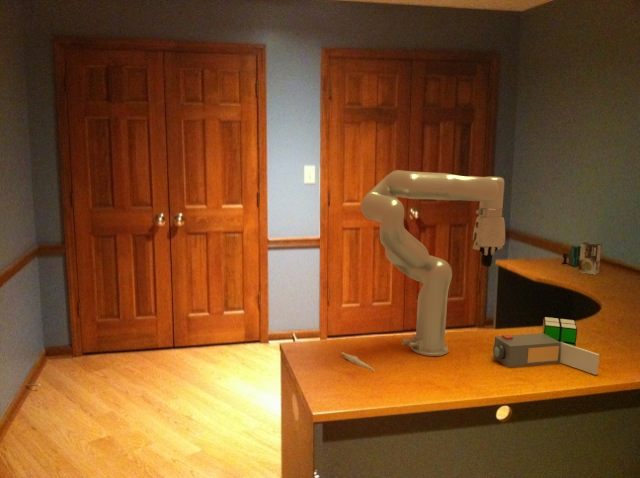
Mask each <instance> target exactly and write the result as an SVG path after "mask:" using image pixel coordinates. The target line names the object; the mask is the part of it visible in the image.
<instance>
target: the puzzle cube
mask: <svg viewBox="0 0 640 478" xmlns="http://www.w3.org/2000/svg"><path fill="white" fill-rule="evenodd" d="M541 333H544V334H546V335H548V336H549V337H551V338H553V339H555V340H557V341H559V342H564V343H566V344H569V345H572V346H575V347H577V346H576V345H577V344H576V343H577V337H578V328H577V323H576V321H575V320H573V319H565V318H557V317H556V318H555V317H547V316H544V317H543V322H542V332H541Z"/></svg>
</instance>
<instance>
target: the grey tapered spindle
mask: <svg viewBox="0 0 640 478" xmlns="http://www.w3.org/2000/svg"><path fill="white" fill-rule="evenodd" d="M341 355H342V358H344V359H345V360H347V361H348V362H350V363H353V364H356V365H358V366H360V367H363V368H366V369H368V370H371V371H373V372H376V370H375V369H374V368H373V367H371V366H370V365H369V364H367V363H365V362H364V361H363V360H361V359H359V357H358V356H356V355H354V354H353V355H352V354H349V353H346V352H344V351H342V352H341Z"/></svg>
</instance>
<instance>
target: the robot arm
mask: <svg viewBox="0 0 640 478" xmlns="http://www.w3.org/2000/svg"><path fill="white" fill-rule="evenodd" d="M504 192H505V179H504V178H503V177H501V176H475V175H468V176H465V175H464V176H463V175H457V174H453V173H452V174H451V173H444V172H429V171H426V172H425V171H411V170H403V169H401V170H400V169H396V170H393V171H391V172H390V173H388V174H387V175H385V177H384V178H383V179H381V180H380V181H379V182H378V183H377V185H375V186H374V187H373V188H371V190H370V191H369V192H367V194H365V196H364V197H363V198H362V201H361V204H360V210H361V214H362V215H363V217H365V218H366V219H368V220H371V221H373V222H374V221H375V222H377V223H379V240H380V243H381V245H383V247H384V253H385V257H386V259H387V260H388V261H389V263H391V264H392V265H393V266H394V267H396V268H397V269H398V270H399V271H400V272H402V273H403V274H404V275H406V276H407V277H408V278H410V279H412V280H415V281H417V282H419V283H422V287H421V289H420V291H419V293H418V296H417V308H416V310H417V311H416V313H417V314H416V326H415V327H416V328H415V329H416V330H415V331H416V332H415V334H413V335H412V337H410V338H402V339H401V343H402V344H401V345H403V346H404V345H405V346H406V345H408V347H410V349H411V350H412V351H413V352H414V353H416V354H418V355H422V356H427V357H428V356H430V357H438V356H439V357H440V356H444V355H446V354H448V353H449V350H450V346H448V345H447V344H446V343H445V341H446V328H447V327H446V325H447V323H446V322H447V309H448V307H447V306H448V295H449V290H450V285H451V281H452V277H453V270H452V266H451V265H450V263H449V262H447V261H446V260H444V259H442V258H441V257H436V256H434V255H430V253H429V251H428V249H427V247H426V246H425V245H424V244H423V243H422V242H421V241H419V239H417V238H416V237H414V236H413V235H412V234H411V233H410V232H409V231H408V230H407V229H406V228H405V224H404V221H405V220H404V219H405V208H404V204H403V203H402V202H401V201H400V200H399V199H398V198H404V199H408V200H409V199H411V200H438V201H439V200H440V201H467V202H468V201H469V202H470V201H471V202H479V206H478V209H477V210H475V214H476V215H478V216H477V217H476V219H475V224H474V228H473V234H472V243H473V245H472V250H473V249H474V250H476V251H479V252H480V254H481V265H482V266H483V267H487V268H488V267H492V263H493V262H492V261H493V256H494V255H495V252H497V251H498V250H501V249H503V246H505V243H506V223H505V222H506V221H505V218H504V217H502V216H503V207H504V206H503V204H504V194H505V193H504Z"/></svg>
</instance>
